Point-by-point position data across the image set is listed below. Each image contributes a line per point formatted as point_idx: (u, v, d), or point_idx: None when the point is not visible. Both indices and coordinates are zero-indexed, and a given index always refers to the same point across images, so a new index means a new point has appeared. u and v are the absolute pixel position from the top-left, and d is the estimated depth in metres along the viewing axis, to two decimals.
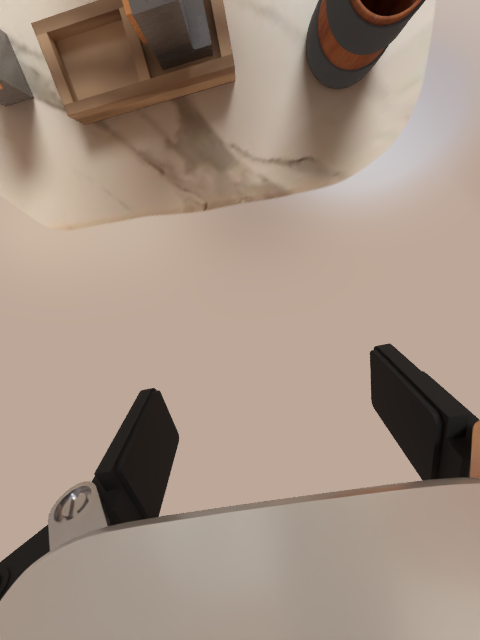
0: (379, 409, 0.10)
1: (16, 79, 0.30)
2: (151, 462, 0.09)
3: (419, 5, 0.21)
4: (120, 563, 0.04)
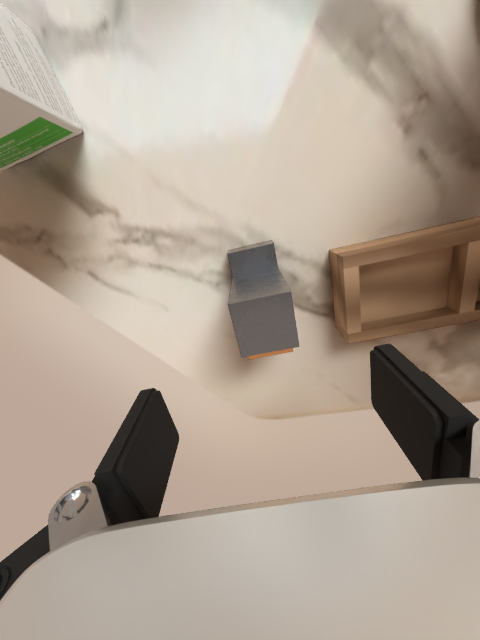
0: (379, 409, 0.10)
1: None
2: (151, 462, 0.09)
3: None
4: (120, 563, 0.04)
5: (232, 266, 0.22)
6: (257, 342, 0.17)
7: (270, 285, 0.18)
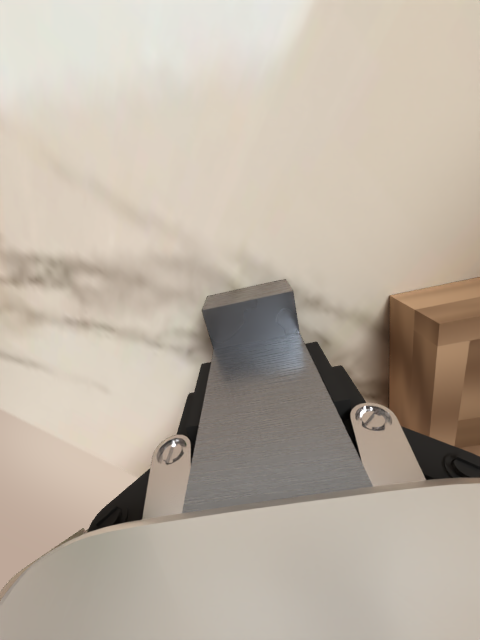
0: None
1: None
2: None
3: None
4: (120, 563, 0.04)
5: (212, 332, 0.11)
6: None
7: (298, 417, 0.07)
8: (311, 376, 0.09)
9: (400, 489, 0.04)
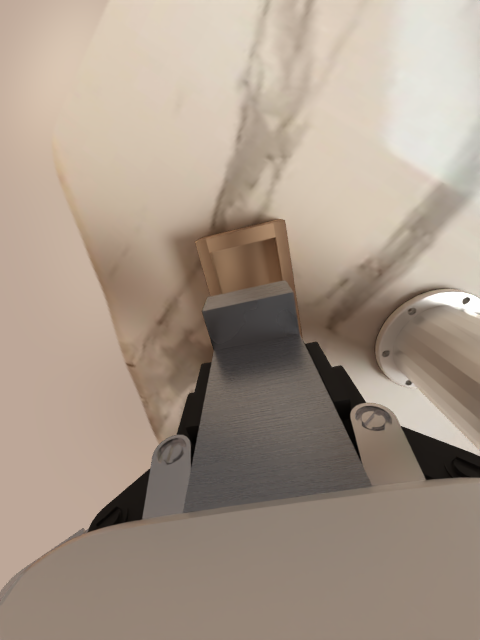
0: None
1: None
2: None
3: None
4: (120, 563, 0.04)
5: (212, 333, 0.12)
6: None
7: (298, 419, 0.07)
8: (311, 377, 0.09)
9: (400, 489, 0.04)
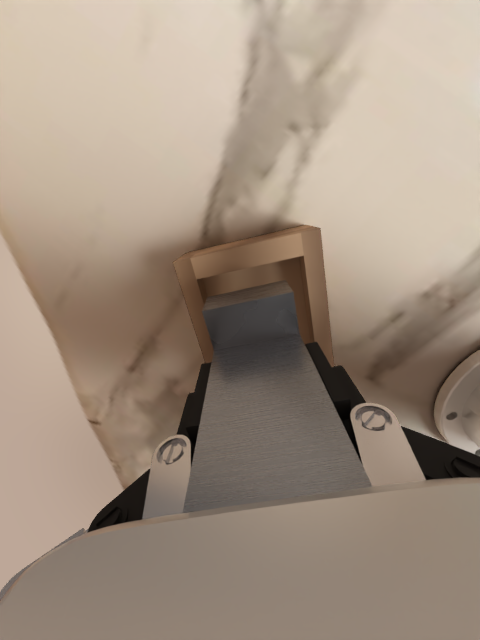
0: None
1: None
2: None
3: None
4: (120, 563, 0.04)
5: (212, 333, 0.11)
6: None
7: (298, 418, 0.07)
8: (311, 377, 0.09)
9: (400, 489, 0.04)
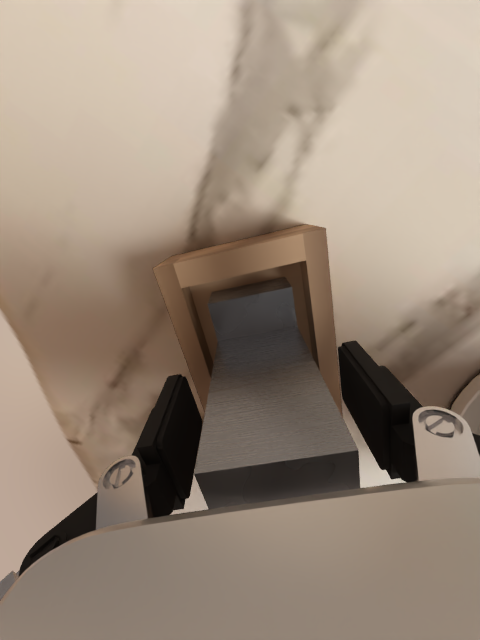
0: (347, 402, 0.11)
1: None
2: (182, 441, 0.10)
3: None
4: (120, 563, 0.04)
5: (217, 325, 0.12)
6: None
7: (295, 396, 0.08)
8: (307, 363, 0.09)
9: (400, 489, 0.04)
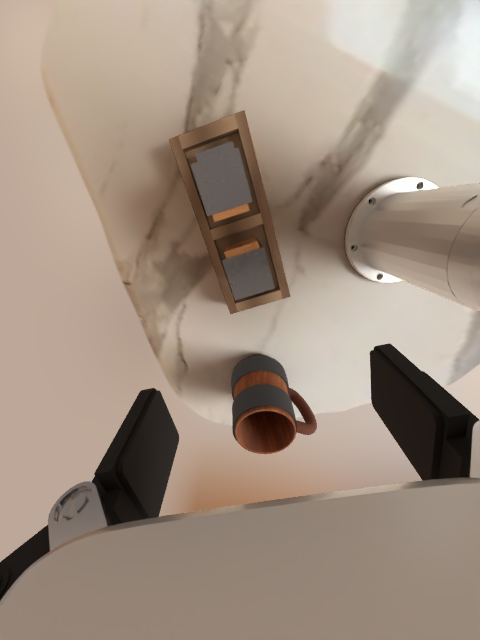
0: (379, 409, 0.10)
1: None
2: (151, 462, 0.09)
3: None
4: (120, 563, 0.04)
5: None
6: (218, 200, 0.21)
7: None
8: None
9: (400, 489, 0.04)
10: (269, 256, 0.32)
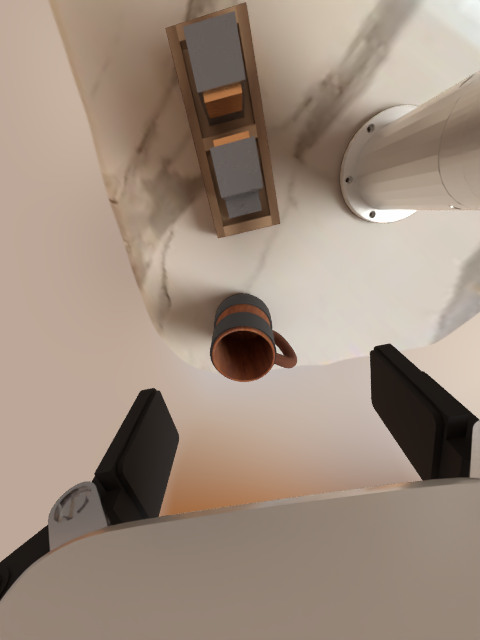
0: (379, 409, 0.10)
1: None
2: (151, 462, 0.09)
3: None
4: (120, 563, 0.04)
5: None
6: (210, 73, 0.20)
7: None
8: None
9: (400, 489, 0.04)
10: (262, 179, 0.31)
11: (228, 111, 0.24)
